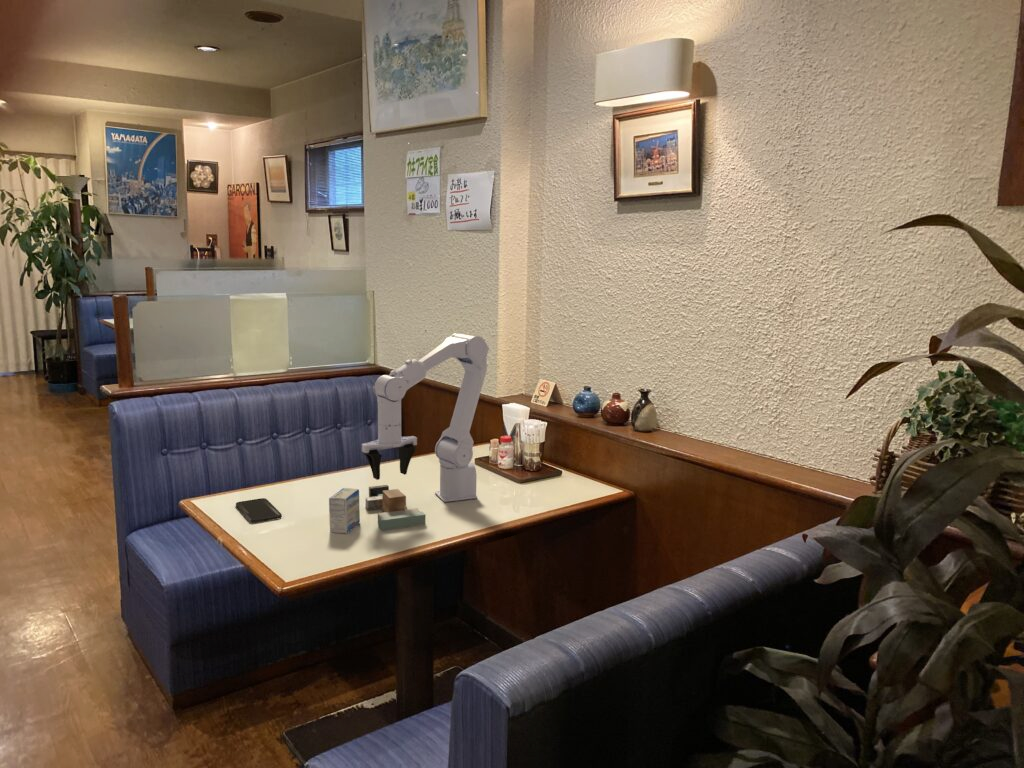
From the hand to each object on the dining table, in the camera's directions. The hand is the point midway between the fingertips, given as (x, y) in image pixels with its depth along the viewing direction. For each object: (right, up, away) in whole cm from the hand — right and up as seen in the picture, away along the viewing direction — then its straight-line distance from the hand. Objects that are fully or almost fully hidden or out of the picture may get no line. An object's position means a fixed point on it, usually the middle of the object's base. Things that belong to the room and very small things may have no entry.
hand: (390, 476), depth 193 cm
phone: (-33, -9, -1) cm, 34 cm away
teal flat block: (+4, -11, -7) cm, 13 cm away
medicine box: (-9, -11, -10) cm, 18 cm away
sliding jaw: (-3, -8, +8) cm, 12 cm away
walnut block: (+1, -10, -1) cm, 10 cm away
